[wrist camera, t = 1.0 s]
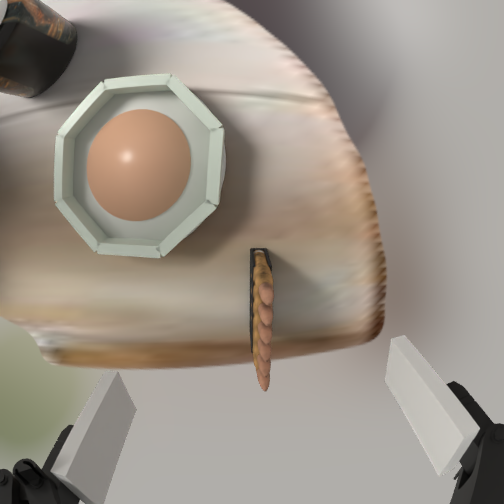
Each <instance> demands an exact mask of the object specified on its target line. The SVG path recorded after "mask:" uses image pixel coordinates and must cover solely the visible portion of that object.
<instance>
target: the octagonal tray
mask: <svg viewBox="0 0 504 504" xmlns="http://www.w3.org/2000/svg"><path fill="white" fill-rule="evenodd" d="M57 133H58V134H59V135H58V136H56V142H55V158H54V201H57V203H56V204H55V205H56V206H57V208H58V209H59V210H60V211H61V213H62V214H63V215H64V216H65V218H66V219H67V220H68V221H69V223H70V224H71V225H72V226H73V228H74V229H75V230H76V231H77V232H78V234H79V235H80V236H81V237H82V238H83V240H84V241H85V242H86V243H87V244H88V245H89V247H90V248H91V249H92V250H93V251H94V252H96V251H97V254H106V255H120V256H134V257H148V258H161V257H162V256H163V257H164V256H165V255H166V254H167V253H168V252H170V251H171V250H172V249H173V248H174V247H175V246H176V245H177V244H178V243H179V242H180V241H181V240H182V239H184V238H186V237H187V236H188V235H189V234H191V233H192V232H193V231H194V230H195V229H196V228H197V227H198V226H199V225H200V224H201V223H202V222H203V221H204V220H205V218H206V217H208V216H209V215H210V214H211V213H212V212H213V211H214V210H215V209H216V208H217V207H218V204H219V203H220V194H221V189H222V185H223V182H224V177H225V170H226V151H225V144H224V137H225V131H224V128H223V125H222V124H221V123H220V122H219V120H218V119H217V118H216V117H215V116H214V115H213V114H212V113H211V111H210V110H209V109H208V107H207V106H206V105H205V104H204V102H203V101H201V100H200V99H199V98H198V97H197V96H196V95H195V94H193V93H192V92H191V91H190V90H189V89H188V88H187V87H186V86H185V85H184V84H183V83H182V82H181V81H180V80H179V79H178V78H177V77H176V76H175V75H173V76H172V75H171V73H168V74H151V75H138V76H128V77H120V78H112V79H105V80H104V83H103V82H102V81H101V82H100V83H99V84H98V85H97V86H96V87H95V88H94V89H93V90H92V92H91V93H90V94H89V95H88V96H87V97H86V98H85V99H84V100H83V102H82V103H81V104H80V105H79V106H78V107H77V108H76V110H75V111H74V112H73V113H72V114H71V116H70V117H69V118H68V119H67V121H66V122H65V123H64V124H63V126H62V127H61V128H60V129H59V131H58V132H57Z"/></svg>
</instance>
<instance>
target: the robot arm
mask: <svg viewBox="0 0 504 504" xmlns="http://www.w3.org/2000/svg"><path fill="white" fill-rule="evenodd" d="M385 383H386V384H387V386H388V388H389V389H390V391H391V393H392V394H393V396H394V398H395V399H396V401H397V403H398V405H399V406H400V408H401V410H402V411H403V413H404V415H405V417H406V418H407V420H408V422H409V424H410V425H411V427H412V429H413V431H414V432H415V434H416V436H417V437H418V440H419V441H420V443H421V445H422V447H423V449H424V450H425V452H426V454H427V456H428V458H429V460H430V461H431V463H432V465H433V467H434V469H435V471H436V472H437V475H438V476H441V475H443V474H445V473H447V472H449V471H451V470H453V469H454V468H455V466H456V465H457V464H458V462H460V463H461V465H462V467H461V469H460V470H459V471H458V473H457V474H456V476H455V477H454V480H456V478H457V477H458V480H457V483H456V487H455V490H454V493H453V496H452V499H451V502H450V504H504V424H500V423H499V424H494V423H493V422H492V421H491V420H490V418H489V417H488V416H487V415H486V414H485V412H484V411H483V410H482V408H481V407H480V406H479V405H478V403H477V402H476V401H474V399H473V397H472V396H471V395H469V393H468V391H467V390H466V389H465V388H464V387H463V386H462V385H460V384H458V383H456V382H455V381H453V382H451V383H448V384H445V382H444V381H443V380H442V379H441V378H440V376H439V375H438V374H437V373H436V371H434V369H433V368H432V367H431V365H430V364H429V363H428V362H427V361H426V359H425V358H424V357H423V356H422V355H421V353H420V352H419V351H418V350H417V349H416V348H415V346H414V345H413V344H412V343H411V342H410V341H409V339H408V338H407V337H406V336H405V335H403V336H399V337H395V338H391V342H390V350H389V357H388V363H387V369H386V375H385ZM135 412H136V407H135V406H134V404H133V402H132V400H131V398H130V396H129V394H128V392H127V389H126V387H125V385H124V383H123V381H122V379H121V377H120V375H119V372H118V371H105V372H104V374H103V375H102V377H101V379H100V380H99V382H98V384H97V386H96V387H95V389H94V391H93V393H92V394H91V396H90V398H89V399H88V401H87V403H86V405H85V407H84V408H83V410H82V412H81V414H80V415H79V417H78V419H77V421H76V423H75V425H68V426H67V427H66V428H65V429H64V430H63V431H62V432H61V434H60V436H59V437H58V439H57V440H58V441H56V443H55V445H54V448H53V449H52V450H51V452H50V454H49V456H48V458H47V460H46V462H45V464H44V466H43V468H42V469H40V468H39V466H38V465H37V464H36V463H35V462H34V461H32V460H31V459H22V460H20V461H18V462H17V463H16V464H15V466H14V468H13V474H12V473H11V472H10V471H8V470H6V469H0V504H78V503H79V500H81V501H83V502H84V503H85V504H104V501H105V498H106V495H107V492H108V489H109V486H110V483H111V480H112V476H113V473H114V471H115V468H116V465H117V462H118V459H119V456H120V453H121V451H122V448H123V445H124V442H125V439H126V437H127V434H128V431H129V428H130V426H131V423H132V420H133V418H134V415H135Z"/></svg>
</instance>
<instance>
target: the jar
mask: <svg viewBox="0 0 504 504" xmlns="http://www.w3.org/2000/svg"><path fill="white" fill-rule="evenodd" d="M76 43H77V32H76V29H75V27H74V26H73V25H72V24H71V23H70V22H69V21H67V20H66V19H65V18H63V17H62V16H61V15H59V14H58V13H57V12H55V11H54V10H53V9H51V8H50V7H48V6H47V5H45V4H44V3H43V2H41V1H40V0H0V92H1V93H5V94H10V95H15V96H20V97H34V96H36V95H39V94H40V93H42V92H44V91H45V90H47V89H48V88H49V87H50V86H51V85H52V84H54V83H55V81H56V80H57V79H58V78H59V77H60V76H61V74H62V73H63V72H64V70H65V69H66V67H67V66H68V64H69V62H70V60H71V58H72V56H73V54H74V51H75V48H76Z"/></svg>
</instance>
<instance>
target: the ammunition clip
mask: <svg viewBox="0 0 504 504" xmlns="http://www.w3.org/2000/svg"><path fill="white" fill-rule="evenodd" d="M271 273H272V265H271V261H270V258H269V255H268V251H267V249H266V248H251V249H250V340H251V352H252V353H253V359H254V365H255V367H256V371H257V377H258V381H259V384H260V386H261V387H262V389H263V390H264V391H267V389H268V387H269V382H270V374H269V372H270V365H271V364H270V363H271V361H270V356H271V339H272V320H273V309H272V302H273V299H274V290H273V278H272V274H271Z"/></svg>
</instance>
